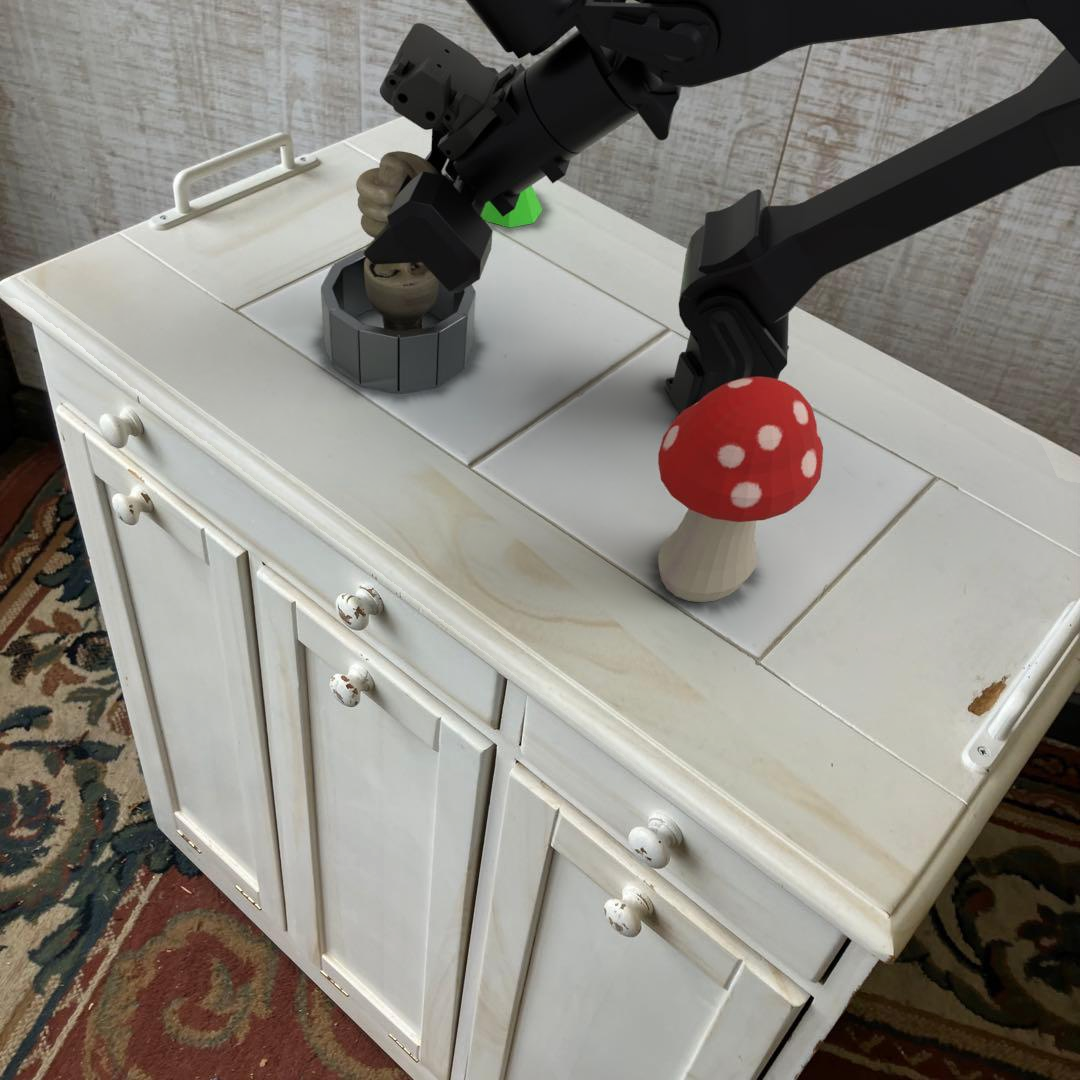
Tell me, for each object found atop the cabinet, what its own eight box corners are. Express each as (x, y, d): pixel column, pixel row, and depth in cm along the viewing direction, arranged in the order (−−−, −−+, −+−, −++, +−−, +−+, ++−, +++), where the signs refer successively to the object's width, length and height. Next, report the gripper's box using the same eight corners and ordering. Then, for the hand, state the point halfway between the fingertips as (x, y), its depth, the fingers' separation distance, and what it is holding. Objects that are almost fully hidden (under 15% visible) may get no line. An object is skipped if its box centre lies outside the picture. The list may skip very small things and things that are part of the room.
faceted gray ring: (447, 293, 86) (449, 238, 82) (488, 380, 79) (493, 325, 76) (312, 311, 83) (308, 255, 79) (344, 402, 76) (341, 346, 72)
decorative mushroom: (719, 500, 74) (777, 320, 62) (805, 586, 69) (885, 410, 58) (601, 554, 69) (640, 373, 58) (686, 651, 65) (746, 474, 54)
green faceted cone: (543, 229, 93) (551, 165, 88) (473, 225, 92) (477, 160, 88) (541, 191, 97) (548, 128, 92) (473, 186, 96) (477, 123, 92)
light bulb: (401, 380, 78) (400, 193, 67) (346, 345, 80) (337, 159, 69) (452, 344, 82) (460, 160, 70) (398, 312, 83) (397, 128, 72)
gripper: (500, -64, 68) (336, 78, 76) (426, 68, 55) (240, 219, 64) (607, 81, 73) (442, 198, 82) (561, 231, 61) (373, 350, 70)
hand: (380, 235), depth 74 cm, fingers closed on light bulb, 5 cm apart
